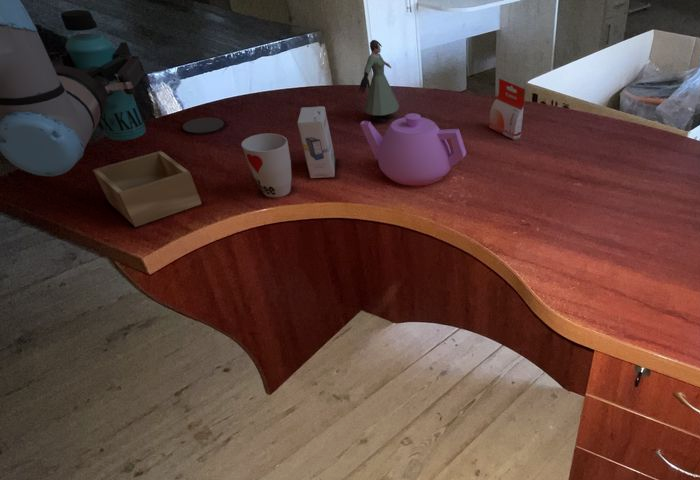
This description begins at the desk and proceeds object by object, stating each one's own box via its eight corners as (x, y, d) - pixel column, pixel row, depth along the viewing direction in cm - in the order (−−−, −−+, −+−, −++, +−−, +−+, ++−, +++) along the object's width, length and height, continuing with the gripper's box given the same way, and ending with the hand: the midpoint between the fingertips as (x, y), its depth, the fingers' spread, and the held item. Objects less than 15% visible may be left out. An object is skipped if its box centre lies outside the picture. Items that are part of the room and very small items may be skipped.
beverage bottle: (109, 137, 95) (49, 7, 81) (151, 131, 98) (99, 4, 84) (109, 152, 91) (45, 18, 77) (153, 146, 94) (99, 15, 80)
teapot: (472, 162, 121) (473, 107, 112) (457, 195, 109) (457, 137, 101) (378, 150, 123) (372, 96, 114) (354, 182, 111) (345, 123, 103)
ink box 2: (513, 141, 130) (517, 91, 122) (488, 128, 135) (490, 80, 127) (522, 138, 131) (526, 89, 124) (497, 125, 136) (499, 77, 128)
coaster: (176, 125, 127) (175, 123, 127) (213, 116, 132) (212, 114, 132) (194, 137, 123) (193, 135, 123) (231, 127, 128) (230, 125, 128)
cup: (249, 188, 107) (234, 139, 100) (288, 177, 111) (276, 130, 104) (265, 205, 103) (251, 155, 96) (305, 193, 107) (294, 144, 100)
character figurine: (382, 134, 129) (373, 53, 116) (351, 129, 130) (339, 47, 118) (409, 111, 140) (404, 34, 128) (380, 106, 141) (372, 30, 129)
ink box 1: (334, 178, 112) (324, 121, 104) (309, 179, 111) (296, 122, 103) (336, 160, 118) (326, 105, 110) (311, 160, 117) (300, 105, 109)
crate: (108, 202, 101) (92, 169, 97) (173, 181, 108) (160, 150, 103) (135, 227, 96) (119, 194, 91) (202, 204, 102) (190, 172, 98)
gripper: (0, 135, 73) (46, 78, 89) (157, 125, 78) (175, 73, 94) (-36, 77, 68) (21, 28, 84) (136, 70, 73) (159, 25, 89)
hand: (102, 52), depth 89 cm, fingers closed on beverage bottle, 6 cm apart
